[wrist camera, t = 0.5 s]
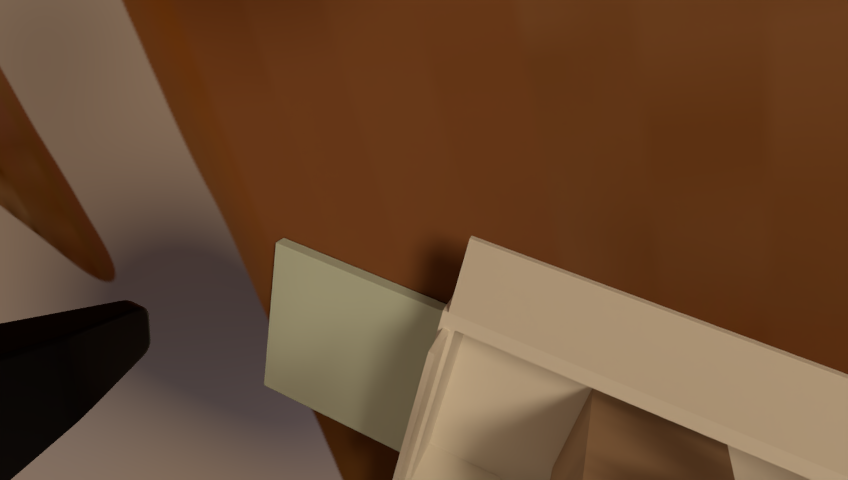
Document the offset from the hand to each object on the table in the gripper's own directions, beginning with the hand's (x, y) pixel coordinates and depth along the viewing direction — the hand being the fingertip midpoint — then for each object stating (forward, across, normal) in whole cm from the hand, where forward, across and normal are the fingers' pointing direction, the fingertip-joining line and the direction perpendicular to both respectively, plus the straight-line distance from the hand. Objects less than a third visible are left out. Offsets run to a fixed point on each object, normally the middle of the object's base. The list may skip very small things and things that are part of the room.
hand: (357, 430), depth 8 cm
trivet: (+12, +5, +10) cm, 17 cm away
